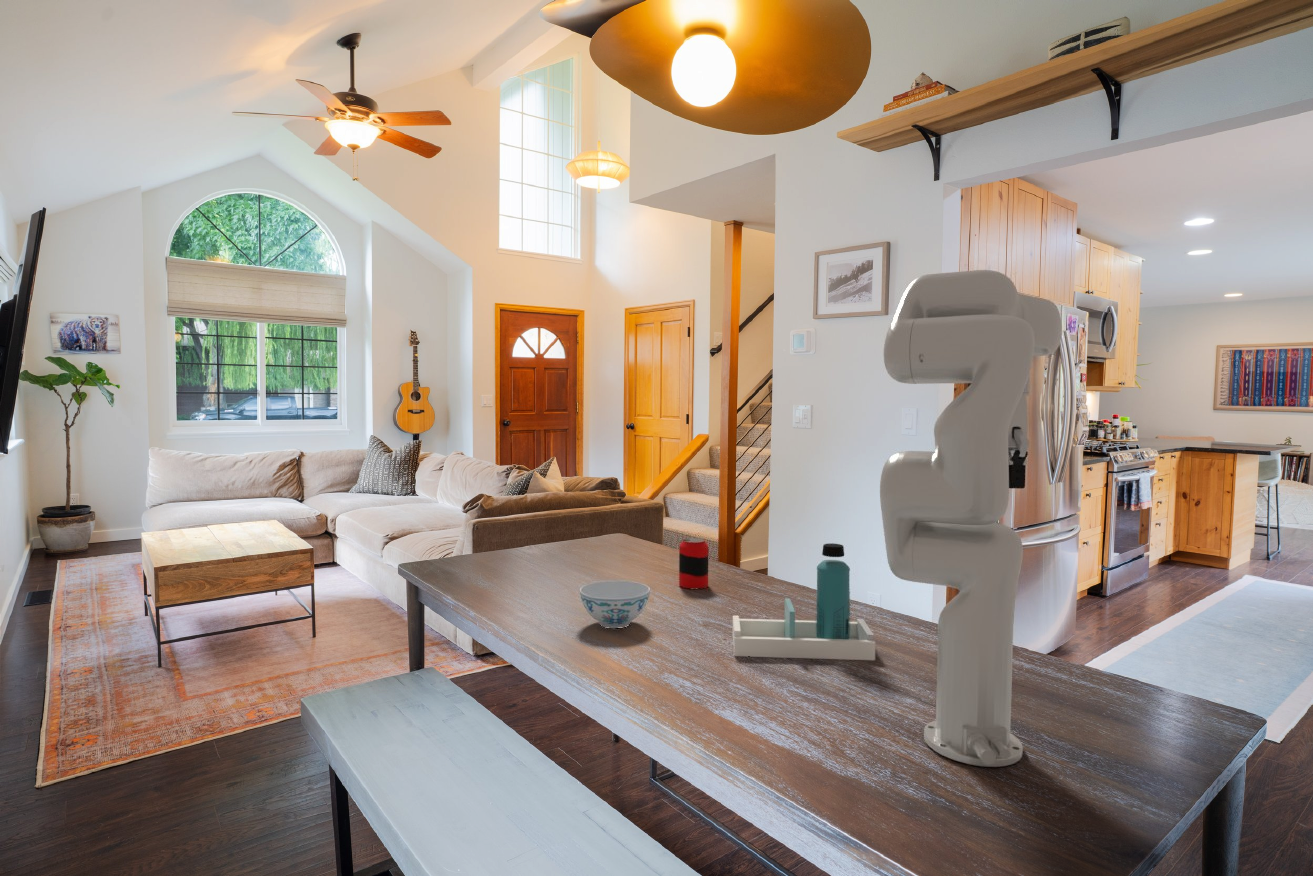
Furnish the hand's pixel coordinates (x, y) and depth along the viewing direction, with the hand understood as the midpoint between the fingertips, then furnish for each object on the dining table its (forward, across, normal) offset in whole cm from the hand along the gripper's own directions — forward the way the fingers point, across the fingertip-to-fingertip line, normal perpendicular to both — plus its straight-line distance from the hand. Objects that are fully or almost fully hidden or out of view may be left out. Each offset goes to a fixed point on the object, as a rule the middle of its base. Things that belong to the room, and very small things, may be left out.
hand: (1003, 484), depth 127 cm
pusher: (+33, -9, -36) cm, 49 cm away
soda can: (+34, -54, -56) cm, 85 cm away
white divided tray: (+33, -9, -34) cm, 48 cm away
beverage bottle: (+33, -9, -28) cm, 44 cm away
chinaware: (+34, -20, -72) cm, 82 cm away
